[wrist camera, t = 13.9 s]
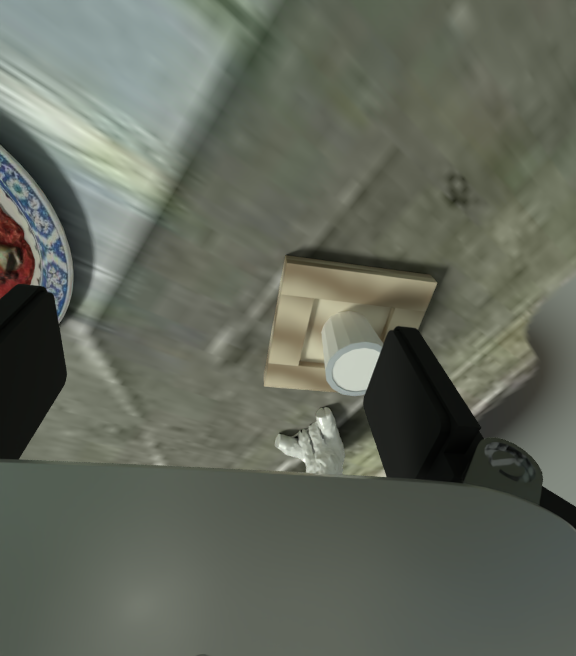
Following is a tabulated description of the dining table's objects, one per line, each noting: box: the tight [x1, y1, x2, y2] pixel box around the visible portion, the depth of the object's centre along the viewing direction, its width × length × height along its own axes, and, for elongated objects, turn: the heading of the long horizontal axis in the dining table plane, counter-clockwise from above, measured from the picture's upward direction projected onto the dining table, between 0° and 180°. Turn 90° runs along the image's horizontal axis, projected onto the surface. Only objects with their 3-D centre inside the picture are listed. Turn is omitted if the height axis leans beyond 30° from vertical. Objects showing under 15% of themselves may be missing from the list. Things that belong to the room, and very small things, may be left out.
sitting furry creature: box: [275, 407, 345, 475], centre depth 50 cm, size 10×9×12 cm
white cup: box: [321, 311, 383, 396], centre depth 41 cm, size 7×7×7 cm
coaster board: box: [264, 255, 437, 395], centre depth 44 cm, size 16×16×2 cm
